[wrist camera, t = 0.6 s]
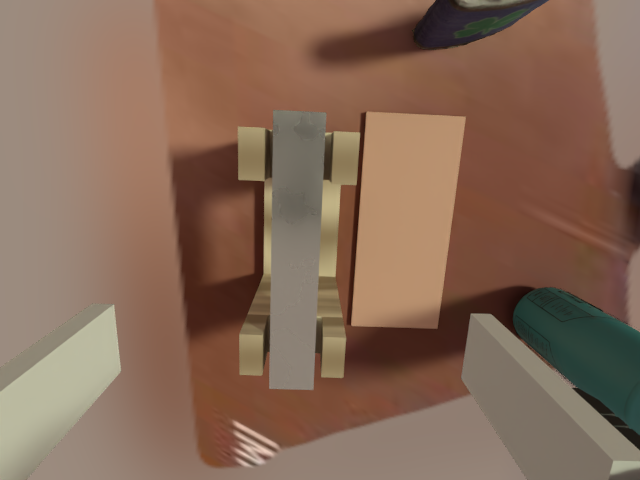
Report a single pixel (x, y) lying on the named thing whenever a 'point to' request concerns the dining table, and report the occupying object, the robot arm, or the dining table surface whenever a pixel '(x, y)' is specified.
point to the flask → (468, 21)
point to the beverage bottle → (584, 348)
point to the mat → (405, 218)
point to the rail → (295, 245)
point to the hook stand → (329, 324)
